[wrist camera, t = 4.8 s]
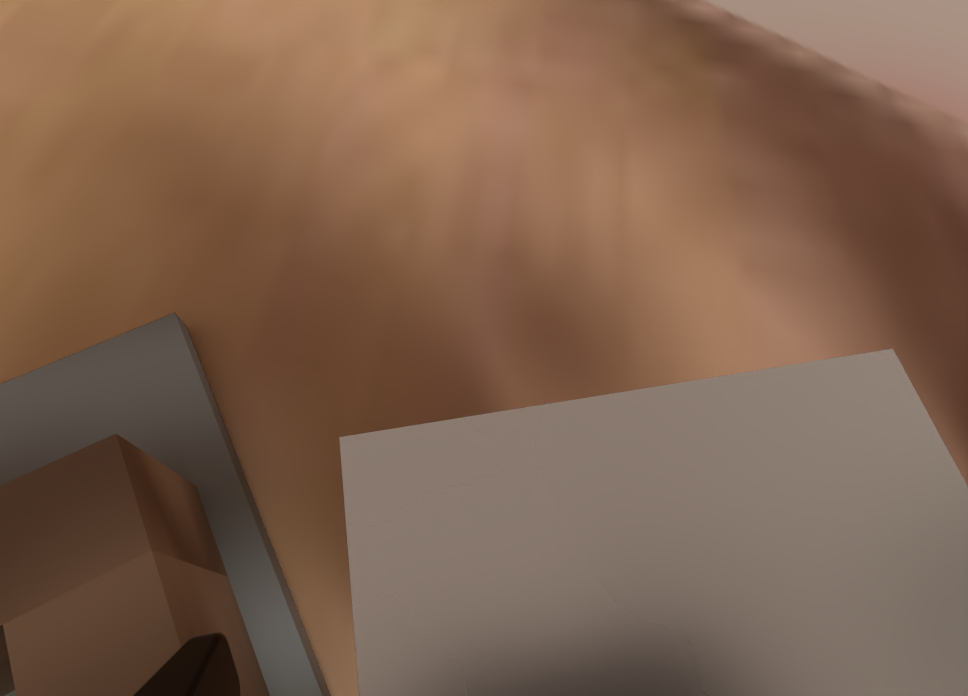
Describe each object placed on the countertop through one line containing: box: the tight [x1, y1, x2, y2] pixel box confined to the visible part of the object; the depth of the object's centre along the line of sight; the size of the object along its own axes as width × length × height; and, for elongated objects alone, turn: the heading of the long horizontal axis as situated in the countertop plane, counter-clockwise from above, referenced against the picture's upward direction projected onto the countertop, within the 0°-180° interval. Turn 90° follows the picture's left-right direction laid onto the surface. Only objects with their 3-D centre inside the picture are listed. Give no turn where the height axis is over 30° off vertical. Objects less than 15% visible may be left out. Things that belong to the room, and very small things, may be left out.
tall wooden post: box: [339, 349, 968, 696], centre depth 9 cm, size 4×4×12 cm
